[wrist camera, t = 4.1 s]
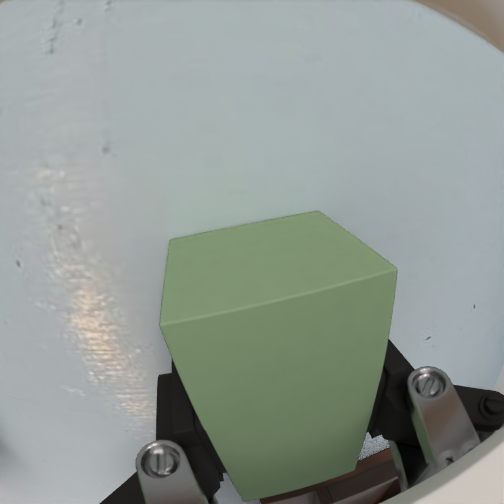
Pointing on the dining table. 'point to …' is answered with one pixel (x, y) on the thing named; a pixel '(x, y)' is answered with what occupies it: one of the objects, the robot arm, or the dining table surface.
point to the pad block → (279, 345)
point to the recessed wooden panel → (350, 485)
